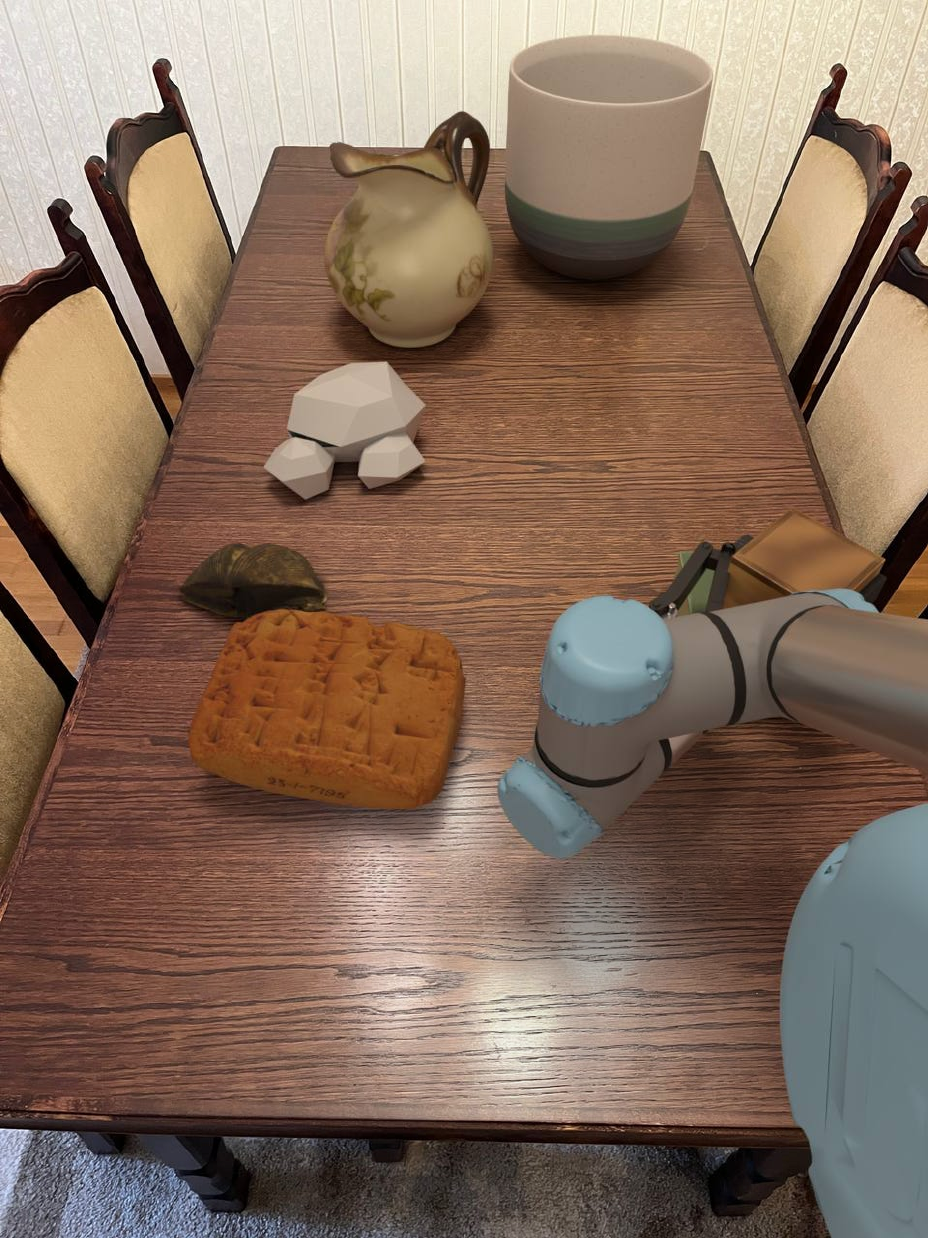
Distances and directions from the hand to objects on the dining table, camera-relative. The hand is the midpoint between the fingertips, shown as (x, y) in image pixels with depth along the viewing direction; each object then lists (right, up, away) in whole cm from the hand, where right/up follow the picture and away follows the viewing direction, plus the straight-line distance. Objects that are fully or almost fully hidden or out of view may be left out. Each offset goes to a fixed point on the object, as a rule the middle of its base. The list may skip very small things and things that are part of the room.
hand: (827, 557), depth 79 cm
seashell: (-52, -3, +13) cm, 54 cm away
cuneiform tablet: (-43, -16, +2) cm, 46 cm away
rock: (-46, +14, +29) cm, 56 cm away
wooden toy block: (-3, -6, +2) cm, 8 cm away
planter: (-13, +49, +60) cm, 78 cm away
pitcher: (-39, +36, +48) cm, 72 cm away
